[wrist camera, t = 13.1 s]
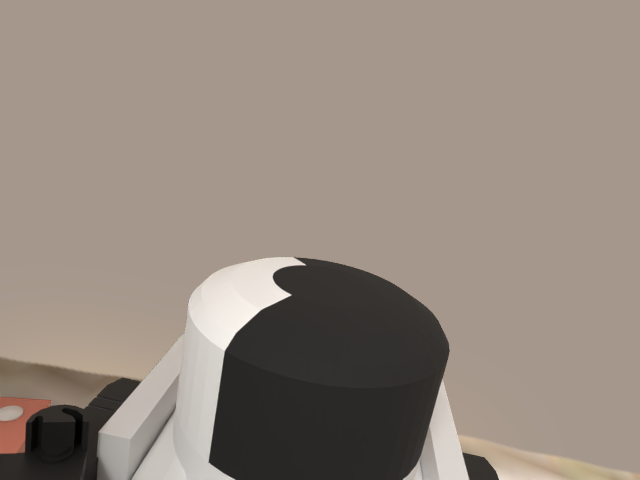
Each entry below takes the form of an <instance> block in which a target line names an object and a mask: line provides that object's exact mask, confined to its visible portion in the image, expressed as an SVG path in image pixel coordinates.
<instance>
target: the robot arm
mask: <svg viewBox="0 0 640 480" xmlns="http://www.w3.org/2000/svg"><path fill="white" fill-rule="evenodd" d="M184 335H185V332H184V333H183V334H182V335H181V337H180V338H179V339H178V340H177V341H176V342H175V343H174V345H173V346H172V347H171V348H170V349H169V351H168V352H167V353H166V354H165V355H164V356H163V357H162V359H161V360H160V361H159V362H158V363H157V364H156V366H155V367H154V368H153V369H152V370H151V371H150V373H149V374H148V375H147V376H146V377H145V378H144V380H143V381H142V382H139V381H135V380H131V379H126V378H121V379H119V380H117V381H115V382H113V383H111V384H109V385H107V386H106V387H105V388H104V389H103V390H102V391H101V392H100V393H99V394H98V395H97V398H94V400H93V401H92V402H91V403H90V404H89V406H88V407H86V408H85V409H81V408H79V407H76V406H71V405H57V406H51V407H48V408H45V409H41V410H39V411H38V412H36V413H35V414H33V415H31V417H30V418H29V419H28V420H27V422H26V433H25V452H23V453H5V454H0V480H131V479H132V477H133V476H134V474H135V473H136V471H137V470H138V468H139V466H140V465H141V463H142V462H143V460H144V458H145V457H146V455H147V454H148V452H149V451H150V449H151V447H152V446H153V444H154V443H155V441H156V440H157V438H158V436H159V435H160V433H161V432H162V430H163V428H164V427H165V425H166V424H167V422H168V421H169V419H170V417H171V416H172V414H173V413H174V411H175V409H176V401H177V392H178V384H179V376H180V368H181V359H182V351H183V343H184ZM420 464H421V470H422V477H423V480H499V479H498V476H497V473H496V471H495V470H494V468H493V467H492V466H491V465H490V464H489V462H488V461H487V460H486V459H485V458H484V457H480V456H475V455H471V454H466V453H462V450H461V447H460V443H459V439H458V435H457V432H456V428H455V424H454V420H453V417H452V413H451V409H450V405H449V402H448V398H447V394H446V390H445V387H444V383H443V379H442V382H441V385H440V389H439V393H438V396H437V400H436V403H435V407H434V411H433V414H432V418H431V421H430V425H429V428H428V432H427V436H426V439H425V443H424V446H423V450H422V454H421V457H420Z"/></svg>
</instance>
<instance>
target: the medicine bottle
mask: <svg viewBox="0 0 640 480" xmlns="http://www.w3.org/2000/svg"><path fill="white" fill-rule="evenodd" d="M448 355H449V343H448V340H447V338H446V336H445V334H444V332H443V330H442V328H441V326H440V324H439V321H438V320H437V318H436V317H435V316H434V314H433V313H432V312H431V311H430V310H429V309H428V308H427V307H425V306H424V305H423V304H422V303H420V302H419V301H418V300H416V299H415V298H413V297H412V296H410V295H409V294H408V293H406V292H405V291H404V290H402V289H400V288H399V287H397V286H396V285H394V284H392V283H391V282H389V281H387V280H385V279H383V278H381V277H378V276H376V275H373V274H371V273H368V272H365V271H363V270H360V269H356V268H353V267H349V266H346V265H342V264H338V263H333V262H328V261H322V260H316V259H308V258H295V257H275V258H264V259H258V260H253V261H249V262H244V263H240V264H236V265H232V266H229V267H225V268H223V269H221V270H218V271H217V272H215V273H213V274H212V275H210V276H209V277H208V278H207V279H206V280H205V281H204V282H203V283H202V284H200V285H199V286H198V287H197V288H196V289H195V290H194V291H193V293H192V295H191V296H190V299H189V303H188V310H187V318H186V326H185V335H184V343H183V351H182V359H181V368H180V376H179V384H178V392H177V401H176V409H175V411H174V413H173V414H172V416H171V417H170V419H169V421H168V422H167V424H166V425H165V427H164V428H163V430H162V432H161V433H160V435H159V436H158V438H157V440H156V441H155V443H154V444H153V446H152V447H151V449H150V451H149V452H148V454H147V455H146V457H145V458H144V460H143V462H142V463H141V465H140V466H139V468H138V470H137V471H136V473H135V474H134V476H133V477H132V479H131V480H423V477H422V470H421V464H420V457H421V454H422V450H423V446H424V443H425V439H426V436H427V432H428V428H429V425H430V421H431V418H432V414H433V411H434V407H435V403H436V400H437V396H438V393H439V389H440V385H441V382H442V378H443V375H444V371H445V367H446V363H447V360H448Z"/></svg>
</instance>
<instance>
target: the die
mask: <svg viewBox="0 0 640 480" xmlns="http://www.w3.org/2000/svg"><path fill="white" fill-rule="evenodd" d="M50 403H51V400H40V399H24V398H9V397H0V454H5V453H23V452H25V433H26V422H27V420H28V419H29V418H30V417H31V415H33V414H35V413H36V412H38V411H39V410H41V409H45V408H48V407H50Z"/></svg>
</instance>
